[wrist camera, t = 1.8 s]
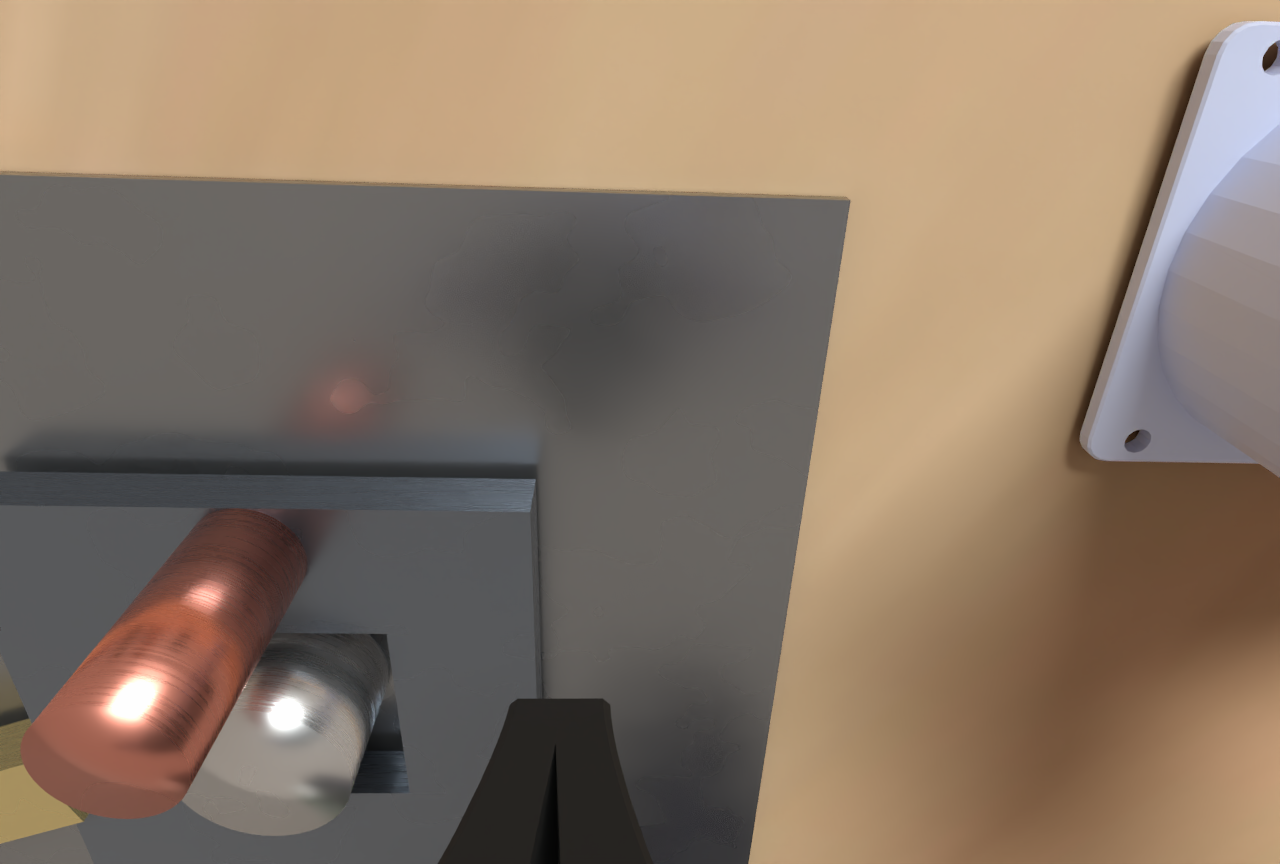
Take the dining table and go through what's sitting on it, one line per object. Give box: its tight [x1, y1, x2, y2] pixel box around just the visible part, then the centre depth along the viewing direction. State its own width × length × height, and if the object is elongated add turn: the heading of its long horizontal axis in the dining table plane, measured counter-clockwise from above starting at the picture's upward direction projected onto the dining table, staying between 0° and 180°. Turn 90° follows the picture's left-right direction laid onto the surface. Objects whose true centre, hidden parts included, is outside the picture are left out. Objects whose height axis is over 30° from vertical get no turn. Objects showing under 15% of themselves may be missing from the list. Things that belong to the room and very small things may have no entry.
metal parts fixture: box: [0, 471, 542, 864], centre depth 15 cm, size 15×11×6 cm
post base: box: [0, 171, 850, 864], centre depth 17 cm, size 22×22×3 cm
